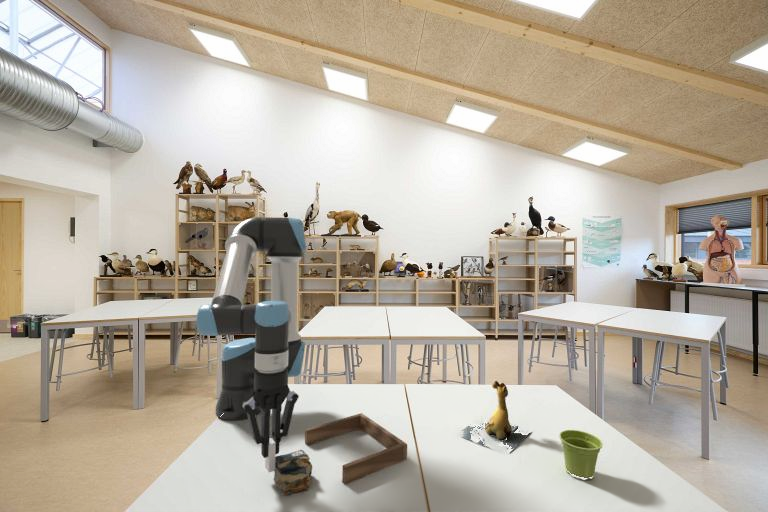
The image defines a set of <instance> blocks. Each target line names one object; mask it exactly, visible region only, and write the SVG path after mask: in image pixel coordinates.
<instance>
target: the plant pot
mask: <svg viewBox="0 0 768 512" xmlns="http://www.w3.org/2000/svg"><path fill="white" fill-rule="evenodd" d="M558 436H559V439H560V441H561V445H562V449H563V455H564V464H565V465H564V466H565V470H566V469H567V471H569V472H570V473H571V474H574V475H576V476H579V477H584V478H589V477H592V476H594V475H595V470H596V466H597V462H598V458H599V457H598V455H599V453H600V452H601V449H602V448H603V441H601V439H600V438H598V437H597V436H595V435H593V434H591V433H589V432H586V431H583V430H579V429H577V430H575V429H565V430H562V431H561V432H560V433H559V435H558ZM567 471H566V472H567Z"/></svg>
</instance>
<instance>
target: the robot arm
mask: <svg viewBox="0 0 768 512" xmlns="http://www.w3.org/2000/svg"><path fill="white" fill-rule="evenodd" d="M304 228H305V227H304V222H303V221H302V219H300V218H296V217H295V218H293V217H271V216H270V217H266V216H263V217H262V216H253V217H250V218H247V219H245V220H243V221H241V222H240V223H239V224H237V225H236V226H234V228H232V230H231V231H230V232H229V234H228V236H227V237H226V240H225V242H224V250H225V251H226V252H225V256H224V259H223V263H222V266H221V268H220V269H221V270H220V274H219V277H218V279H217V283H216V287H215V289H214V293H213V297H212V300H211V304H206V305H205V304H204V305H201V306H200V307H199V308H198V310H197V314H196V319H195V320H196V322H195V323H196V329H197V332H198V334H199V335H201V336H215V337H218V336H238V335H245V336H246V335H251V336H252V335H255V336H254V337H247V338H245V337H244V338H241V339H240V338H239V339H237V340H233V341H230V342H228V343H226V344H225V345H224V346H223V348H222V350H221V358H220V361H221V390H220V393H219V396H218V398H217V402H216V404H215V416H216V417H217V418H219V417H220V416H221V415H222V414H223V413H224V414H223V415H222V416H221V417H220V418H219V419H221V420H226V421H227V420H228V421H236V420H243V419H244V420H245V419H248V424H249V427H250V431H251V435H252V439H253V440H254V442H255V443H256V444H257V445H260V444H261V447H260V449H261V455H262V457H263V458H265V460H264V466H265V469H266V470H267V472H268V473H271V472H272V473H273V472H274V471H275V457H276V455H279V453H280V443H281V442H282V438H283V437H284V438H285V437H287V436H288V433H289V429H290V425H291V422H292V421H291V420H292V417H293V413H294V409H295V404H296V403H297V401H298V399H299V393H296V392H295V391H293V390H292V391H291V390H290V387H289V385H288V383H289V378H293V377H298V376H300V375H301V373H302V371H303V363H304V357H305V348H306V342H305V341H303V340H302V336H301V335H300V334H299V333H298V331H297V328H298V326H297V325H298V323H297V321H298V320H297V319H298V262H300V260H301V259H303V254H304V253H306V252H307V245H306V237H305V229H304ZM258 252H263V253H264V252H266V258H267V259H268V260H269V261H270V262H271V266H270V267H271V274H270V275H271V282H270V283H271V284H270V288H271V289H270V300H265V301H260V302H258V303H257V304H244V303H243V302H244V300H245V299H244V298H245V293H246V288H247V283H248V279H249V275H250V269H251V268H250V267H251V264H252V258H253V257H254V256H255V255H256V253H258ZM285 400H286V401H285ZM284 402H285V404H284V408H283V412H282V405H283V403H284ZM260 413H261V414H260ZM259 414H260V417H261V418H260V428H259V423H258V421H257V415H259ZM281 414H282V417H281ZM270 416H271V417H270ZM270 418H271V419H270ZM270 421H271V423H270ZM270 424H271V432H270ZM270 433H271V436H272V437H270Z"/></svg>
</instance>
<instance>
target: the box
mask: <svg viewBox="0 0 768 512" xmlns="http://www.w3.org/2000/svg"><path fill="white" fill-rule="evenodd" d="M359 429H360V430H362V431H363V432H364V433H366V434H367V435H369V437H371V438H372V439H374V440H375V441H376V442H378V443H379V444H380V445H381V446H383V447H384V448H385V449H382V450H380V451H377V452H375V453H374V452H373V453H371V454H369V455H366V456H364V457H363V456H362V457H361V458H359V459H355V460H352V461H350V462H347V463H345V464H343V465H342V476H341V477H342V482H341V483H342V484H344V485H348V484H350V483H352V482H355V481H357V480H359V479H362V478H365V477H367V476H370V475H372V474H375V473H377V472H380V471H382V470H384V469H387V468H390V467H391V466H392V467H393V466H394V465H397V464H399V463H401V462H404V461H407V460H408V443H407V442H405V441H404V440H402V439H400V438H399V437H397V436H396V435H395V434H393V433H392V432H390V431H389V430H387V429H386V428H384V427H383V426H381V425H380V424H378V423H377V422H375V420H373V419H371V418H370V417H368V416H367V415H365V414H363V412H362V413H361V412H360V413H357V414H354V415H350V416H346V417H343V418H340V419H336V420H333V421H329V422H326V423H323V424H318V425H315V426H312V427H309V428H305V429H304V431H305V432H304V433H305V434H304V442H305V445H306V446H309V445H313V444H315V443H319V442H322V441H324V440H328V439H331V438H334V437H337V436H340V435H344V434H347V433H350V432H354V431H357V430H359Z"/></svg>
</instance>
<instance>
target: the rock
mask: <svg viewBox="0 0 768 512" xmlns="http://www.w3.org/2000/svg"><path fill="white" fill-rule="evenodd" d="M310 459H311V457H310V456H309V455H308V454H307V453H306V452H305V451H304V450H303V449H298V450H296V451H292V452H290V453H286V454H281V455H275V471H273V472H274V477H273V482H274V485H275V486H276V488H278V489H279V490H281V491H282V494H281V495H282V496H283V495H288V494H292V493H297V492H301V491H307V490H309V489H310V483H311V477H312V471H313V464H312V462H311V461H310Z"/></svg>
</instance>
